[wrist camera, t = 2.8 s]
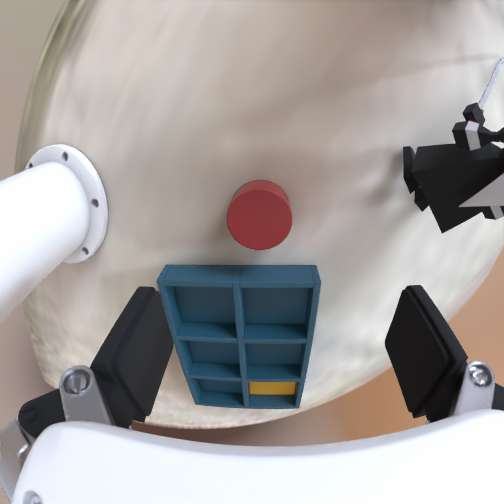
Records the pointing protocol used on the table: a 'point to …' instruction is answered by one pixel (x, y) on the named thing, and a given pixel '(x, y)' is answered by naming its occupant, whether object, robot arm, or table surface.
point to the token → (259, 215)
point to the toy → (460, 170)
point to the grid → (242, 331)
